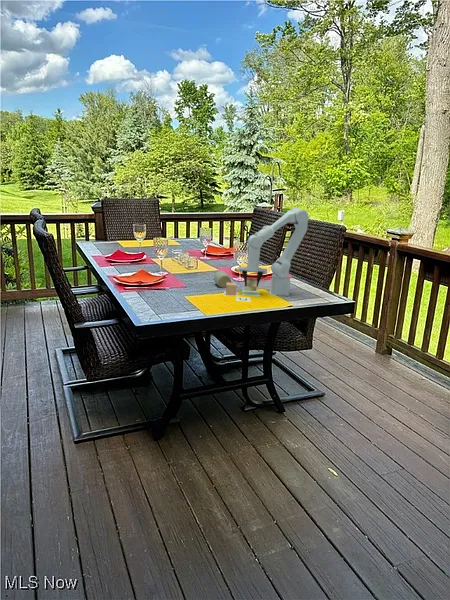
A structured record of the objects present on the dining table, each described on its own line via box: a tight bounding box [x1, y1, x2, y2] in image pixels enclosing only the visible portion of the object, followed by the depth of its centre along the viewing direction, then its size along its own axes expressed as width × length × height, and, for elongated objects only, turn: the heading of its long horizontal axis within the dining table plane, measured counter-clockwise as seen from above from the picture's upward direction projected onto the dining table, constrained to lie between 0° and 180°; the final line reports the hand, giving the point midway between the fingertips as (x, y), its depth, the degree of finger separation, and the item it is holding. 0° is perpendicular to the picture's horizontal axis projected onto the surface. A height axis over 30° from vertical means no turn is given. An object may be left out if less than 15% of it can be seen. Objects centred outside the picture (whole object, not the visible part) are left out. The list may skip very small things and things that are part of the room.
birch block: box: [245, 277, 258, 291], centre depth 218 cm, size 5×5×5 cm
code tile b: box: [223, 290, 239, 297], centre depth 217 cm, size 7×7×1 cm
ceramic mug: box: [213, 270, 234, 289], centre depth 230 cm, size 11×8×8 cm
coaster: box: [241, 289, 261, 297], centre depth 220 cm, size 9×9×1 cm
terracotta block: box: [225, 282, 238, 296], centre depth 216 cm, size 5×5×5 cm
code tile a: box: [235, 296, 251, 303], centre depth 209 cm, size 7×7×1 cm
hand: (251, 286), depth 219 cm, fingers closed on birch block, 5 cm apart
